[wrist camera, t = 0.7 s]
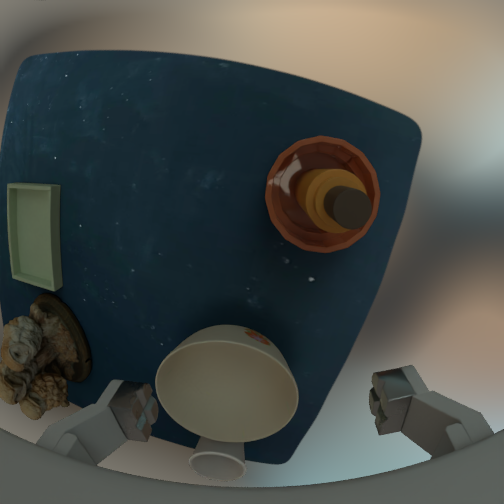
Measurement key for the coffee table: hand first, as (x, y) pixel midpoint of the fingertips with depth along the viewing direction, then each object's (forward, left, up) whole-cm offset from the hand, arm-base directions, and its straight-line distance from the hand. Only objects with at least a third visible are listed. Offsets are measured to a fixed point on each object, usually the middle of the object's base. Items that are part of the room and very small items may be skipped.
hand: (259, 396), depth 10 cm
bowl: (+14, -8, -27) cm, 31 cm away
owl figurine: (+8, -37, -27) cm, 47 cm away
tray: (-10, -33, -27) cm, 43 cm away
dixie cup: (+28, -14, -27) cm, 42 cm away
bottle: (-4, +7, -26) cm, 27 cm away
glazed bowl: (-4, +7, -27) cm, 28 cm away
